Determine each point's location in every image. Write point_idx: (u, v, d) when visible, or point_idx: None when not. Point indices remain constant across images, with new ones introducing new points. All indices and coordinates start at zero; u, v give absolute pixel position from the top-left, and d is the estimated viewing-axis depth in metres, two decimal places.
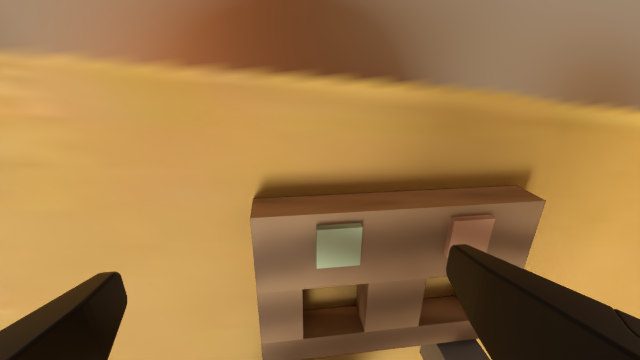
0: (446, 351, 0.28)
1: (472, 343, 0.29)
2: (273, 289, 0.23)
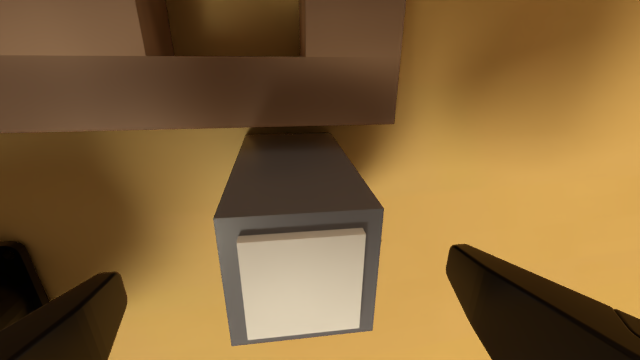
0: (254, 154, 0.11)
1: (328, 148, 0.12)
2: None
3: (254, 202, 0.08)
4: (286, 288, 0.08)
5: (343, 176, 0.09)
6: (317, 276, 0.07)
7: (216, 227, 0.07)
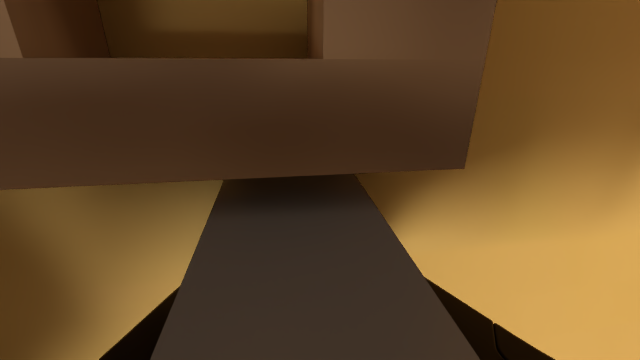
0: (233, 223, 0.07)
1: (355, 206, 0.08)
2: None
3: None
4: None
5: (401, 296, 0.05)
6: None
7: None
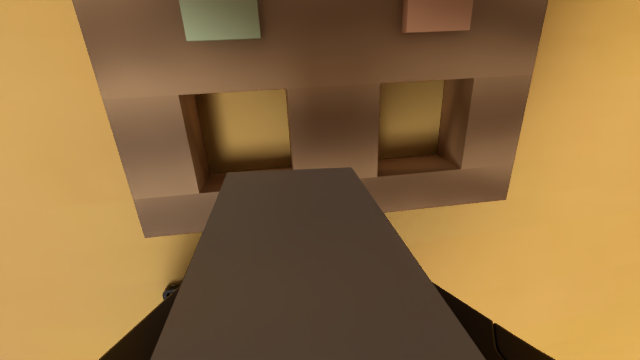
0: (234, 220, 0.07)
1: (356, 204, 0.08)
2: (129, 92, 0.14)
3: None
4: None
5: (404, 294, 0.05)
6: None
7: None
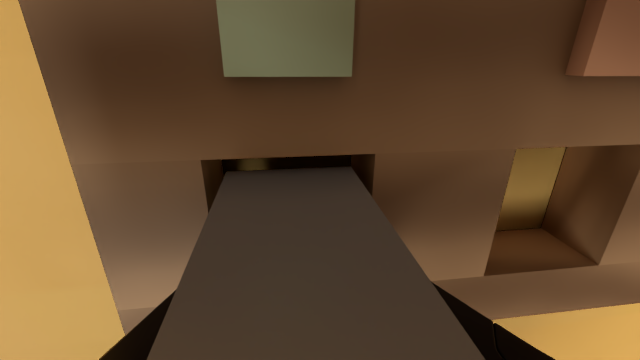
0: (232, 219, 0.07)
1: (355, 203, 0.08)
2: (117, 154, 0.08)
3: None
4: None
5: (402, 292, 0.05)
6: None
7: None
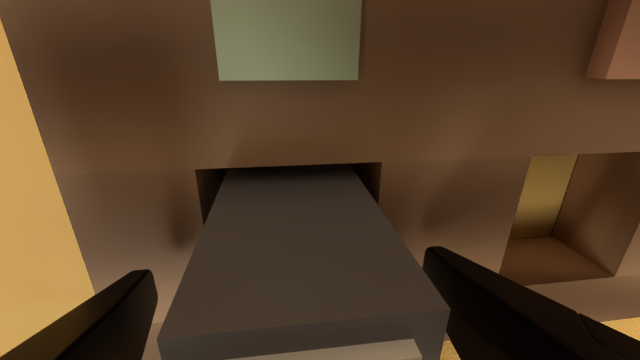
0: (242, 187, 0.08)
1: (341, 177, 0.09)
2: (104, 164, 0.08)
3: (233, 293, 0.05)
4: None
5: (370, 231, 0.06)
6: None
7: (163, 351, 0.04)
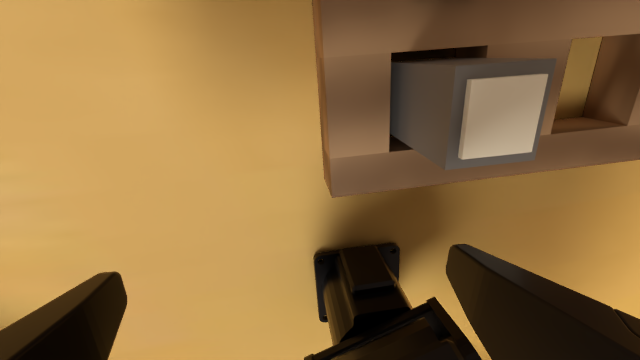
0: (414, 62, 0.15)
1: (463, 58, 0.16)
2: (348, 50, 0.15)
3: (467, 63, 0.12)
4: (493, 116, 0.12)
5: (502, 59, 0.13)
6: (513, 107, 0.11)
7: (455, 73, 0.11)
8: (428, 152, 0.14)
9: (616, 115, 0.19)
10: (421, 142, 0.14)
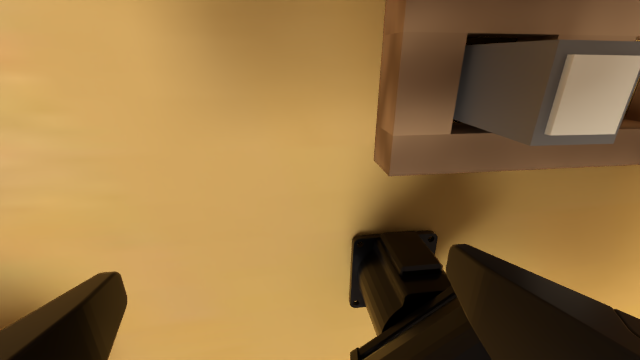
0: None
1: None
2: (427, 26, 0.15)
3: None
4: (587, 94, 0.12)
5: None
6: (607, 86, 0.12)
7: (558, 47, 0.11)
8: (506, 130, 0.14)
9: None
10: (496, 121, 0.14)
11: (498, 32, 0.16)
